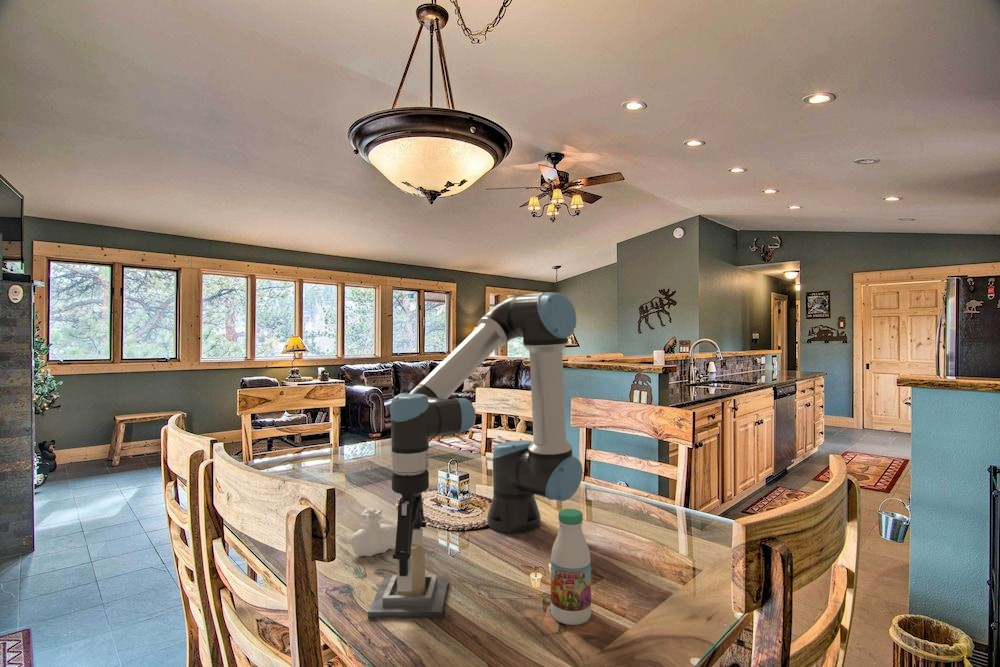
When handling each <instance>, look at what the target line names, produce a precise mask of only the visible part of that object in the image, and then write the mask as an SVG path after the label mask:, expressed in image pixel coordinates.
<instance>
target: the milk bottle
mask: <svg viewBox="0 0 1000 667" xmlns="http://www.w3.org/2000/svg"><path fill="white" fill-rule="evenodd" d="M583 516H584V515H583V512H582V511H581V510H579V509H576V508H564V509H560V510H559V512H558V524H559V528H558V533H557V535H556V538H555V540H554V542H553V545H552V548H551V555H550V613H551V615H552V617H553V619H554V620H555V621H557V622H558V623H561V624H563V625H568V626H579V625H582V624H585V623H587V622H588V621H589V620H590V618H591V615H592V562H591V561H592V560H591V553H590V552H591V551H590V548H589V545H588V543H587V540H586V538H585V536H584V532H583V529H582V525H583V524H584V523H583Z"/></svg>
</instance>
